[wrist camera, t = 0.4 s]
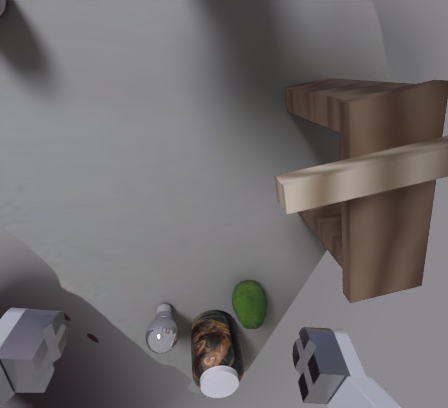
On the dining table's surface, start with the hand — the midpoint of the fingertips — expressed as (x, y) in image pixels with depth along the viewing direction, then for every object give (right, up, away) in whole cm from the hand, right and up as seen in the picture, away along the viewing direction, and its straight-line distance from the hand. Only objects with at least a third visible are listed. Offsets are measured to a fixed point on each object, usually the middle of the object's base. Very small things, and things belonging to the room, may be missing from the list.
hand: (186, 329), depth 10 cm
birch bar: (+17, +8, +21) cm, 28 cm away
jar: (-1, -27, +64) cm, 69 cm away
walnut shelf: (+17, +15, +47) cm, 52 cm away
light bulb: (-13, -20, +59) cm, 63 cm away
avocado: (+6, -15, +59) cm, 62 cm away
